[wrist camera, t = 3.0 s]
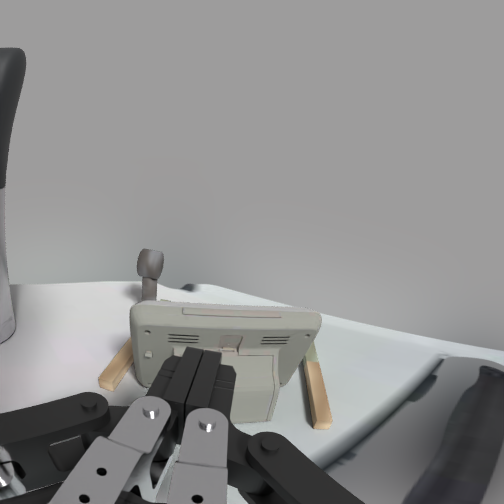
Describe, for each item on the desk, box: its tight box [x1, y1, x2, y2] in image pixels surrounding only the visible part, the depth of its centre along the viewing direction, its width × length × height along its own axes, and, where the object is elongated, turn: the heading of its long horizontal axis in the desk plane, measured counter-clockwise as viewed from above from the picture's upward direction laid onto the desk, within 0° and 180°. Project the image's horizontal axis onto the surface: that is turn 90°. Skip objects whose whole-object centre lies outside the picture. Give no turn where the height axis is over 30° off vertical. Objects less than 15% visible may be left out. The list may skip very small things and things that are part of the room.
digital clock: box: [130, 300, 322, 424], centre depth 26 cm, size 16×9×11 cm, turn 92°
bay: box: [99, 249, 333, 429], centre depth 33 cm, size 24×20×10 cm
